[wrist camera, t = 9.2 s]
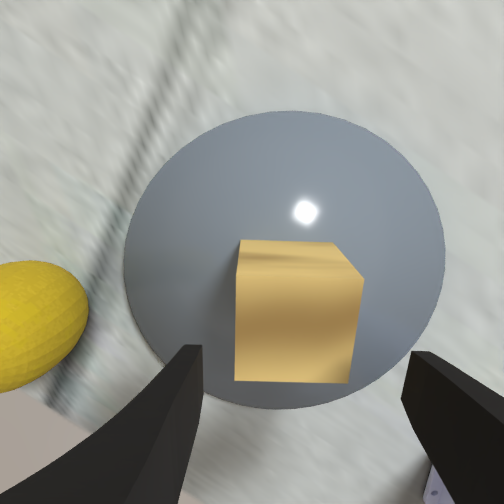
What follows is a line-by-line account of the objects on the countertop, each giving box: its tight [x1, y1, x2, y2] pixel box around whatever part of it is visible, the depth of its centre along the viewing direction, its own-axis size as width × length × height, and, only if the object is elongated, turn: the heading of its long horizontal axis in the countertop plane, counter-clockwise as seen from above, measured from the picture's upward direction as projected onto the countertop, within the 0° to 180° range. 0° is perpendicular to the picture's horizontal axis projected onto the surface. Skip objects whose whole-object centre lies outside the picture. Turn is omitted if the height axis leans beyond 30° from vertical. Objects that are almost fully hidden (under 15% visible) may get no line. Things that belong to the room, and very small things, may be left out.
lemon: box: [0, 260, 89, 393], centre depth 15 cm, size 6×6×8 cm
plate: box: [124, 111, 445, 409], centre depth 18 cm, size 18×18×1 cm
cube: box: [234, 240, 364, 384], centre depth 15 cm, size 5×5×5 cm
